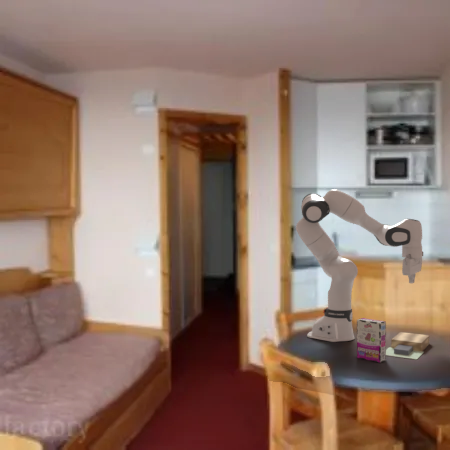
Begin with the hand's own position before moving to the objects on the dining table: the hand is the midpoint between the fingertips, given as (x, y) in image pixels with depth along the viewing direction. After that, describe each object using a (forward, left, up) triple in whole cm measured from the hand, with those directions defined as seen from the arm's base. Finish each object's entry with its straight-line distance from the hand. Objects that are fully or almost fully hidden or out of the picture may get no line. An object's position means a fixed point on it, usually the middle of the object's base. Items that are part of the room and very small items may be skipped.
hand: (411, 283), depth 258 cm
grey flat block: (+2, -22, -27) cm, 35 cm away
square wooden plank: (+2, -9, -27) cm, 29 cm away
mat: (+2, -24, -27) cm, 36 cm away
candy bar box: (-7, -39, -28) cm, 48 cm away
